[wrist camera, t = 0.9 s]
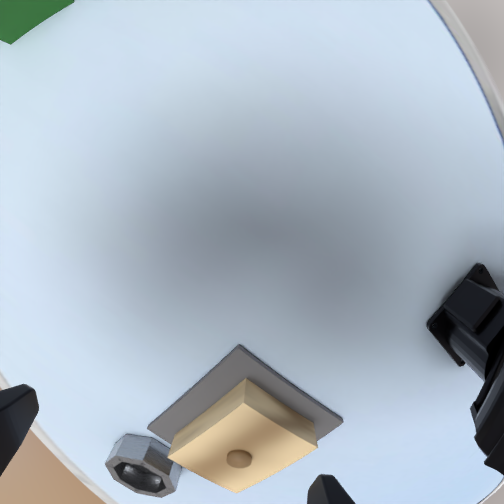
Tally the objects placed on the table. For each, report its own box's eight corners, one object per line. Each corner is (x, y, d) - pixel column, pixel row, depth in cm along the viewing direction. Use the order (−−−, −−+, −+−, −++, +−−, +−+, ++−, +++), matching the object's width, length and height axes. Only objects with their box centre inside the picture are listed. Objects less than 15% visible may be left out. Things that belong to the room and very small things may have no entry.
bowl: (192, 462, 23) (186, 485, 20) (159, 481, 24) (152, 501, 22) (135, 426, 23) (124, 448, 20) (108, 449, 24) (97, 468, 21)
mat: (342, 418, 22) (343, 422, 21) (244, 480, 24) (244, 483, 23) (238, 344, 20) (238, 348, 20) (148, 424, 22) (146, 428, 22)
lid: (313, 422, 21) (318, 452, 18) (238, 470, 23) (236, 497, 19) (245, 377, 20) (243, 407, 17) (175, 434, 22) (165, 461, 19)
